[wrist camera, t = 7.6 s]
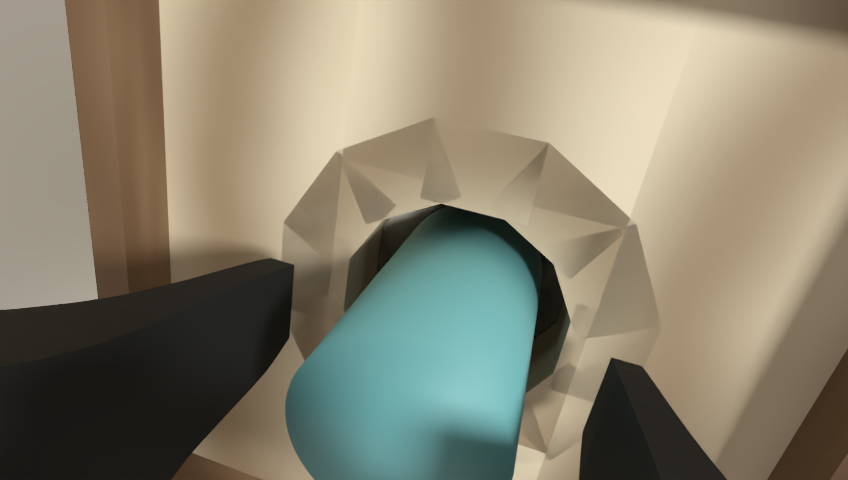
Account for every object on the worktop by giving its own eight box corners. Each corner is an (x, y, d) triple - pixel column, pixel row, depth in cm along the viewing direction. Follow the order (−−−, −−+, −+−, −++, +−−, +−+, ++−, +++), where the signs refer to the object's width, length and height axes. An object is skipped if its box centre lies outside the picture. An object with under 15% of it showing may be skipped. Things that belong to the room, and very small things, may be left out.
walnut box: (1035, -23, 10) (1311, -56, 6) (679, 585, 17) (707, 734, 13) (191, -140, 13) (41, -208, 9) (201, 411, 20) (120, 493, 17)
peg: (568, 299, 14) (562, 505, 8) (450, 348, 16) (368, 551, 10) (496, 177, 14) (426, 299, 7) (379, 242, 15) (242, 385, 9)
